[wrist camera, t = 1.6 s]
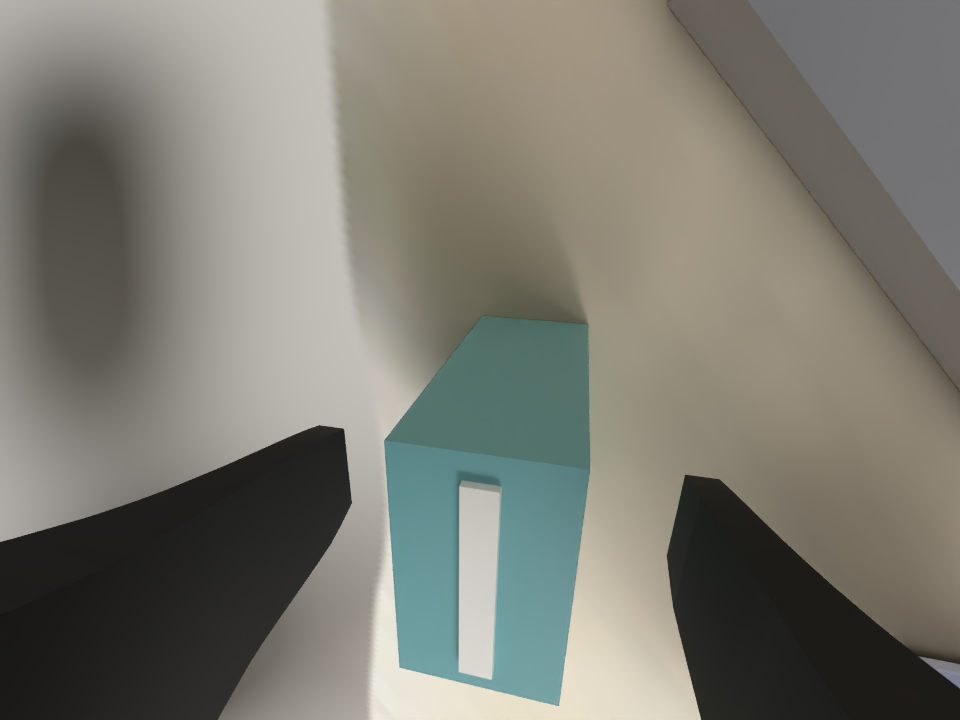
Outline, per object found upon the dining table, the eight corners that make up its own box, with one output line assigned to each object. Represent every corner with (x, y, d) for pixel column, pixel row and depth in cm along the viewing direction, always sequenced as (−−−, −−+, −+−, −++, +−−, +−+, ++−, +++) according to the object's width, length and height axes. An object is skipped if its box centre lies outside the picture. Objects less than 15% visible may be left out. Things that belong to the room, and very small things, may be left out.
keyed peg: (571, 474, 14) (558, 715, 8) (479, 461, 15) (396, 675, 8) (587, 324, 13) (590, 476, 6) (482, 315, 13) (380, 445, 7)
